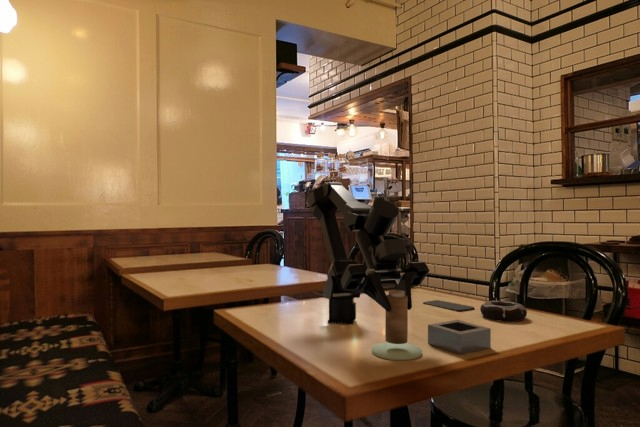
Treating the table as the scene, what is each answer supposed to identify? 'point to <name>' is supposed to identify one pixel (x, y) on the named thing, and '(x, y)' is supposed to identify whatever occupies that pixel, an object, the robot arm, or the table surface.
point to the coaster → (396, 351)
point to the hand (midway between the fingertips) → (400, 309)
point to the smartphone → (449, 305)
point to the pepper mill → (397, 318)
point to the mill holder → (459, 336)
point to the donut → (503, 311)
